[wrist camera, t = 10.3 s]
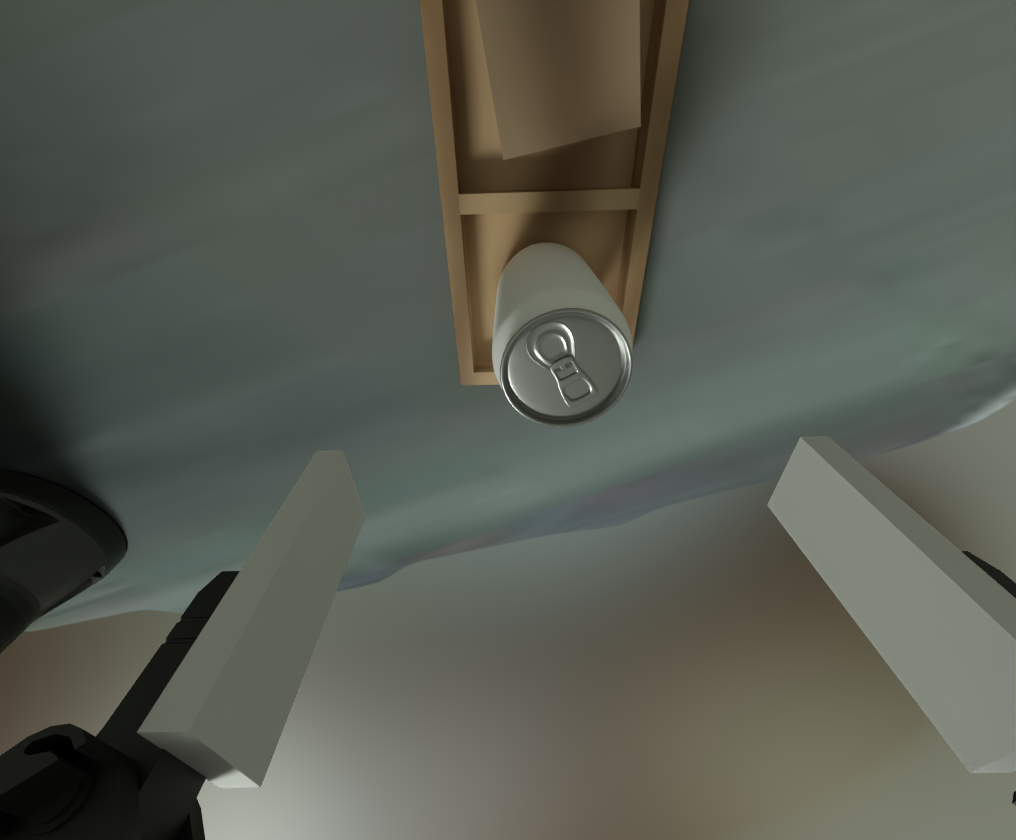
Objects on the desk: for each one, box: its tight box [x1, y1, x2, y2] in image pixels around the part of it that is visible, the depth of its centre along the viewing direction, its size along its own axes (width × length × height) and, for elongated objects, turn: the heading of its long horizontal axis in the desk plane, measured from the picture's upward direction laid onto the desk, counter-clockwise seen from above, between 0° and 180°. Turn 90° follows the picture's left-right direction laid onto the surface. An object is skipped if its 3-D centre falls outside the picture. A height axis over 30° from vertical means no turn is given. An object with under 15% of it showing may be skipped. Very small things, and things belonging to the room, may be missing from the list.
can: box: [492, 243, 632, 427], centre depth 21 cm, size 6×6×12 cm
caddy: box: [420, 0, 689, 385], centre depth 23 cm, size 12×23×3 cm, turn 1°
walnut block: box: [476, 0, 641, 160], centre depth 18 cm, size 6×6×6 cm
